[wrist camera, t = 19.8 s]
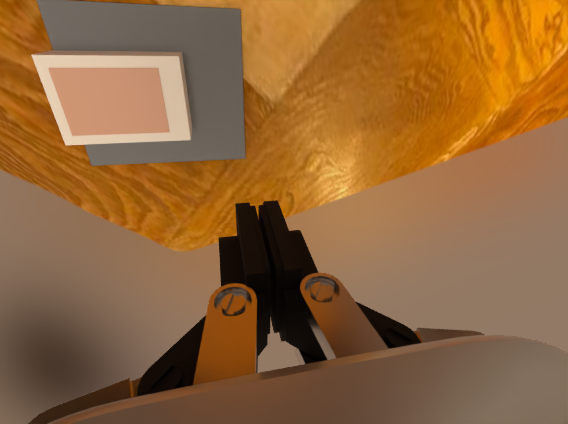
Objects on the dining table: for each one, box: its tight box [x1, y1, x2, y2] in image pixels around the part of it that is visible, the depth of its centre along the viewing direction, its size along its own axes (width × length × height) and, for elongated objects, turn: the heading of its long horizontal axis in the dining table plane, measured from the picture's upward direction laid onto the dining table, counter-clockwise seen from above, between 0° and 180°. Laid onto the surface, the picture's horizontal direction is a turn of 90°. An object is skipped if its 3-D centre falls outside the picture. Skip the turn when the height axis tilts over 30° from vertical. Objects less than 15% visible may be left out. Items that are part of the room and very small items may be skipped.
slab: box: [32, 50, 192, 145], centre depth 30 cm, size 4×8×12 cm
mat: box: [37, 0, 245, 166], centre depth 33 cm, size 18×16×1 cm
